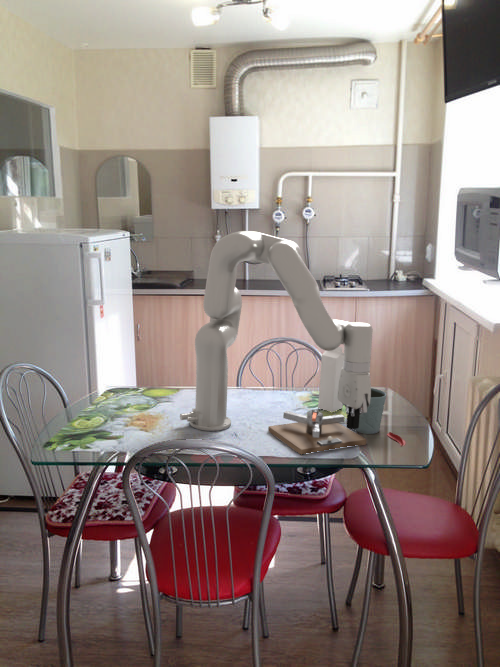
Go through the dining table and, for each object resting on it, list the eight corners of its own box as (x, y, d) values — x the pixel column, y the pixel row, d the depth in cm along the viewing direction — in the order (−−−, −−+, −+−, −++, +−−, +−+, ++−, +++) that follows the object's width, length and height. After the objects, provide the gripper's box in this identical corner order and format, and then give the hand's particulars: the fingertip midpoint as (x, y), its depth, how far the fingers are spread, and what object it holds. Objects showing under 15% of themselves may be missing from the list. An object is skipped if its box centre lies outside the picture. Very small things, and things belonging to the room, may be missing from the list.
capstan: (313, 445, 164) (315, 423, 162) (281, 423, 180) (282, 403, 178) (360, 438, 171) (362, 416, 169) (325, 417, 187) (326, 398, 185)
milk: (332, 413, 198) (337, 349, 193) (317, 408, 202) (321, 345, 197) (342, 409, 202) (347, 346, 198) (327, 405, 206) (332, 343, 202)
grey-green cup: (347, 422, 189) (350, 386, 187) (379, 424, 189) (382, 388, 187) (352, 434, 179) (355, 396, 177) (385, 435, 179) (389, 397, 177)
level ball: (329, 442, 166) (329, 437, 166) (326, 440, 167) (326, 435, 167) (333, 441, 167) (333, 437, 166) (330, 439, 168) (330, 435, 168)
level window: (321, 446, 164) (321, 444, 164) (316, 443, 167) (316, 441, 166) (342, 443, 168) (342, 440, 167) (337, 440, 170) (337, 437, 170)
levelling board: (300, 455, 162) (301, 449, 162) (268, 431, 178) (268, 426, 178) (366, 444, 172) (366, 439, 171) (329, 422, 188) (329, 418, 188)
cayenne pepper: (407, 449, 171) (408, 442, 170) (391, 447, 171) (391, 441, 171) (400, 434, 182) (401, 428, 182) (385, 433, 183) (386, 427, 182)
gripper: (330, 361, 172) (327, 421, 176) (361, 374, 159) (357, 438, 163) (351, 359, 176) (348, 418, 179) (384, 371, 163) (379, 435, 166)
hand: (352, 427), depth 171 cm, fingers closed
